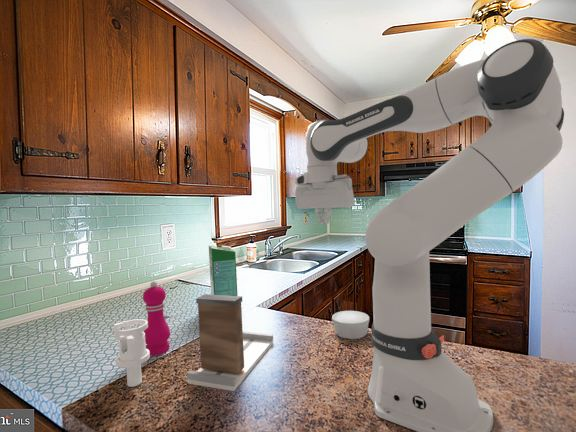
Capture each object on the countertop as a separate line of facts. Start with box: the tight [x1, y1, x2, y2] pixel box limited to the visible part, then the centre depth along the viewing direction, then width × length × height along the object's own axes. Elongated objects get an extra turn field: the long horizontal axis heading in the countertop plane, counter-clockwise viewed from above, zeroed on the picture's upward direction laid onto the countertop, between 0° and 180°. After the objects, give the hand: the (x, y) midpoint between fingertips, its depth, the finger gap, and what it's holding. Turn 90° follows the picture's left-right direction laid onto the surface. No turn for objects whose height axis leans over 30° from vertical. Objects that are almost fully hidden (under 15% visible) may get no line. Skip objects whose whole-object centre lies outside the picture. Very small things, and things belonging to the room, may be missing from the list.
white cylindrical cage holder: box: [113, 318, 151, 388], centre depth 72 cm, size 7×7×15 cm
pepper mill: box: [142, 281, 171, 356], centre depth 88 cm, size 7×7×20 cm
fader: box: [195, 293, 244, 374], centre depth 74 cm, size 4×10×17 cm, turn 72°
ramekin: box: [331, 310, 370, 340], centre depth 95 cm, size 11×11×5 cm
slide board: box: [186, 331, 274, 392], centre depth 81 cm, size 24×12×2 cm, turn 162°
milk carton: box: [208, 245, 239, 296], centre depth 124 cm, size 9×9×25 cm
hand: (323, 223), depth 93 cm, fingers closed
